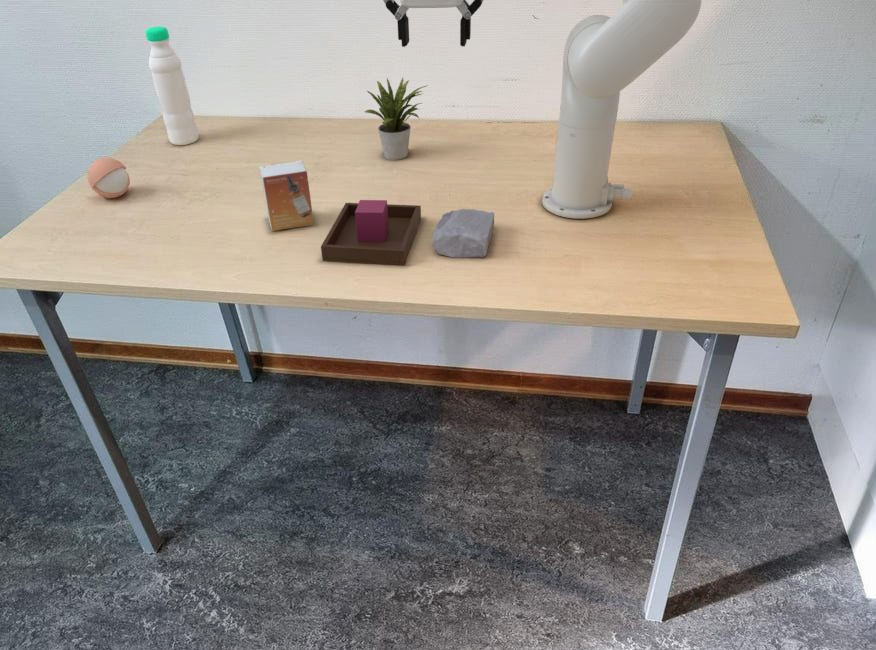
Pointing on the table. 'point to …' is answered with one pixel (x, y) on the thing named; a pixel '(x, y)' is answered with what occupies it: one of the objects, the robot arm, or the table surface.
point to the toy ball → (108, 177)
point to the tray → (391, 252)
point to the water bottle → (171, 88)
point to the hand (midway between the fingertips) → (434, 44)
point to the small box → (287, 195)
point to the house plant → (394, 120)
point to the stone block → (464, 233)
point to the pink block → (372, 220)
